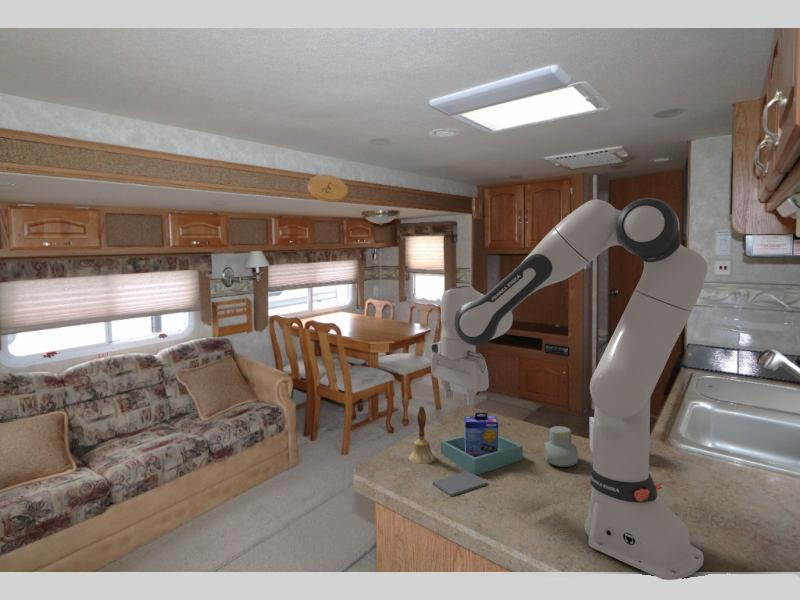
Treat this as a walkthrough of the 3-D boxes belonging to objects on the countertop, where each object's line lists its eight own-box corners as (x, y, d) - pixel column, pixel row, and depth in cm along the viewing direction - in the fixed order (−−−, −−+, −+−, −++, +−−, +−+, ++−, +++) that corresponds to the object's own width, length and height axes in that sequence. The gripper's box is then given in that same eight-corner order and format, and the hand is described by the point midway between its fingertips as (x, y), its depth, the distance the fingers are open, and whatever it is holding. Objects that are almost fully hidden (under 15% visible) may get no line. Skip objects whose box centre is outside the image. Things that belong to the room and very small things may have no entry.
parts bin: (522, 460, 134) (522, 445, 134) (474, 475, 125) (474, 459, 125) (486, 443, 148) (486, 429, 148) (440, 455, 139) (440, 441, 139)
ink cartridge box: (465, 462, 134) (464, 413, 134) (463, 454, 140) (462, 408, 139) (499, 462, 134) (498, 413, 133) (496, 454, 139) (495, 407, 139)
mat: (487, 484, 120) (487, 482, 120) (450, 496, 114) (450, 494, 114) (468, 473, 127) (468, 471, 127) (432, 484, 121) (432, 481, 121)
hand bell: (414, 452, 143) (413, 401, 142) (439, 456, 139) (438, 404, 138) (403, 462, 135) (402, 409, 134) (430, 467, 132) (428, 412, 131)
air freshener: (579, 472, 126) (579, 436, 126) (548, 470, 128) (548, 435, 127) (571, 456, 137) (571, 423, 136) (543, 454, 138) (542, 422, 138)
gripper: (494, 353, 111) (495, 409, 112) (445, 342, 129) (445, 390, 129) (474, 355, 108) (474, 413, 109) (426, 344, 125) (427, 394, 126)
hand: (458, 401), depth 119 cm, fingers open, 7 cm apart
